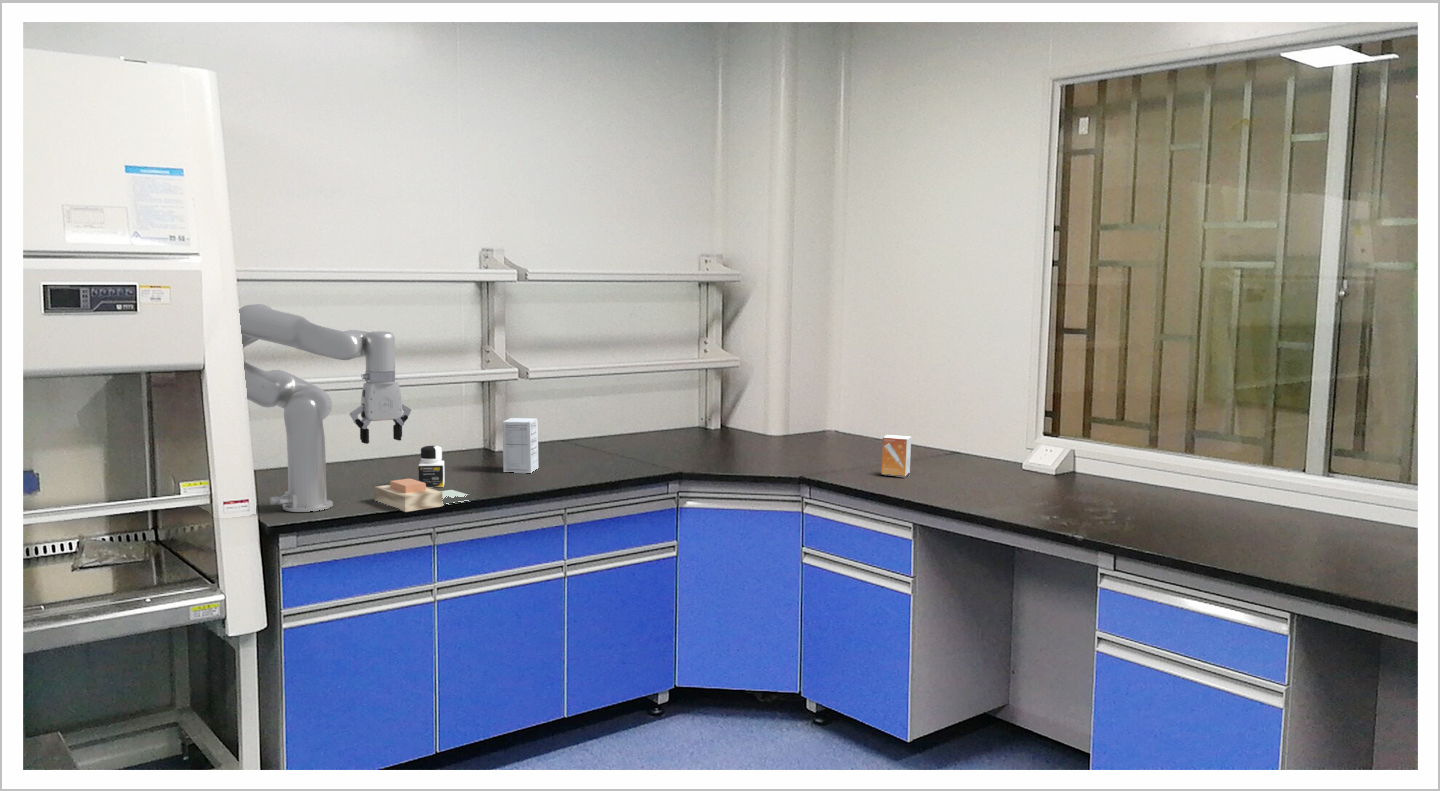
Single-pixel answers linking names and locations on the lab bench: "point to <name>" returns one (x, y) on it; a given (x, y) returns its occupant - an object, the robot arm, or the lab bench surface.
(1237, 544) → the lab bench surface
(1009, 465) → the lab bench surface
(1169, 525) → the lab bench surface
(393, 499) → the beige wooden block
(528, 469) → the supplement box
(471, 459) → the lab bench surface
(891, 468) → the small box
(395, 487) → the salmon orange block
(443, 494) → the mat
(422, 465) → the medicine bottle
